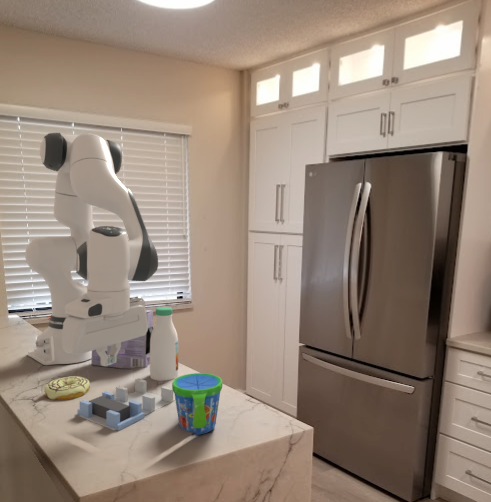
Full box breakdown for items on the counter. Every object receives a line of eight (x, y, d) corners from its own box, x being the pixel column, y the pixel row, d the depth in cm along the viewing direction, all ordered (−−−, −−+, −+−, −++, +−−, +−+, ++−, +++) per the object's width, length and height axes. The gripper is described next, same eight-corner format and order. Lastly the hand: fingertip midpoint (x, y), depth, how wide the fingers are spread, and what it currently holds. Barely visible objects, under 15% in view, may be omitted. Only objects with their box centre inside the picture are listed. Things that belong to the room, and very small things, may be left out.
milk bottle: (172, 385, 114) (172, 311, 113) (145, 382, 115) (145, 310, 114) (182, 375, 121) (182, 306, 120) (157, 373, 123) (156, 305, 122)
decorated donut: (46, 408, 99) (46, 392, 99) (43, 392, 108) (42, 378, 108) (93, 399, 104) (92, 384, 104) (85, 385, 114) (85, 371, 113)
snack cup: (176, 412, 97) (176, 368, 97) (222, 411, 98) (222, 368, 97) (167, 447, 82) (167, 396, 81) (222, 446, 82) (222, 395, 82)
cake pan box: (156, 366, 129) (156, 308, 128) (148, 371, 124) (148, 312, 123) (99, 361, 133) (99, 305, 132) (90, 366, 129) (89, 308, 127)
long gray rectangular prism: (88, 412, 94) (88, 401, 94) (101, 407, 97) (101, 396, 97) (117, 423, 89) (117, 411, 89) (129, 417, 92) (129, 405, 92)
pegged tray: (75, 419, 93) (75, 401, 93) (137, 392, 108) (137, 377, 108) (116, 436, 86) (116, 416, 86) (177, 405, 101) (177, 388, 101)
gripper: (135, 293, 102) (135, 349, 103) (57, 307, 85) (57, 374, 86) (154, 296, 98) (153, 354, 99) (76, 311, 81) (76, 381, 82)
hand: (108, 364), depth 93 cm, fingers closed
